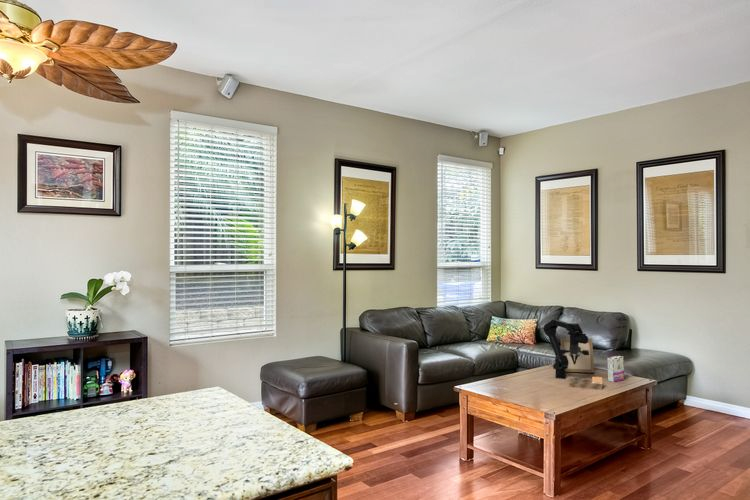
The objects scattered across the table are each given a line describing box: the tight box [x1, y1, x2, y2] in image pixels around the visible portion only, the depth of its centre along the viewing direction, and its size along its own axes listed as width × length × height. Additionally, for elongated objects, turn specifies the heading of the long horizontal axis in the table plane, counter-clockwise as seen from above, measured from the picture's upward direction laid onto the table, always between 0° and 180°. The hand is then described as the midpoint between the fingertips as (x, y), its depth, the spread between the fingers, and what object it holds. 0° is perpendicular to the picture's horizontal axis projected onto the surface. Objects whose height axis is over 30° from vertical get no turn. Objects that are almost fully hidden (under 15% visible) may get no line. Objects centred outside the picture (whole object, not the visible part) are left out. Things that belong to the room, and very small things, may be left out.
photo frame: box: [560, 337, 595, 374], centre depth 379 cm, size 15×22×25 cm
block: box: [591, 376, 603, 384], centre depth 331 cm, size 6×6×5 cm
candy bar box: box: [606, 355, 625, 383], centre depth 349 cm, size 11×5×16 cm, turn 117°
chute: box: [568, 376, 603, 390], centre depth 334 cm, size 20×10×4 cm, turn 66°
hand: (574, 364), depth 346 cm, fingers closed
